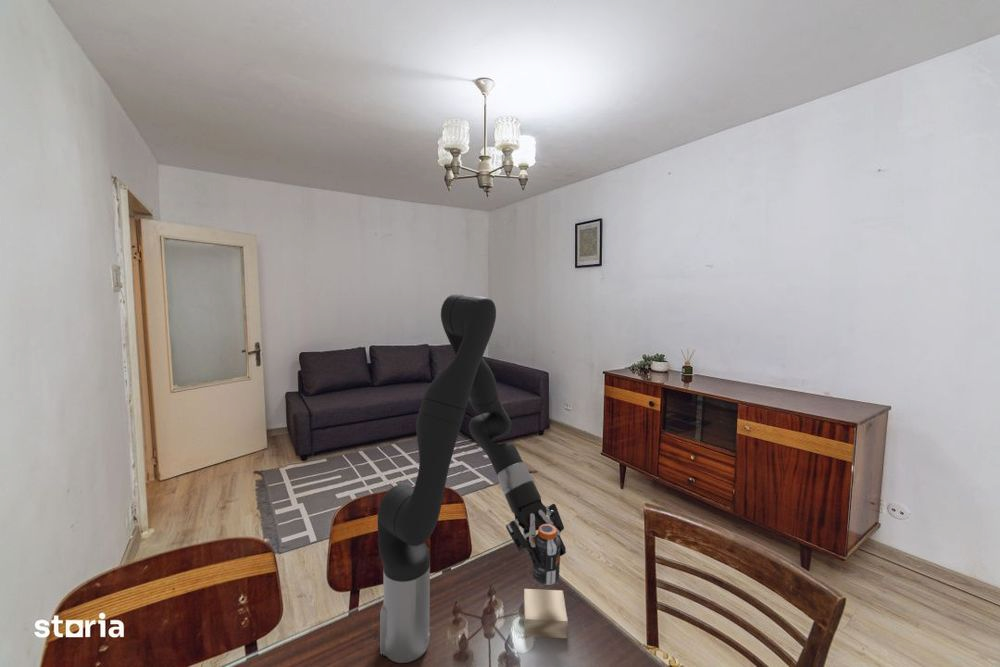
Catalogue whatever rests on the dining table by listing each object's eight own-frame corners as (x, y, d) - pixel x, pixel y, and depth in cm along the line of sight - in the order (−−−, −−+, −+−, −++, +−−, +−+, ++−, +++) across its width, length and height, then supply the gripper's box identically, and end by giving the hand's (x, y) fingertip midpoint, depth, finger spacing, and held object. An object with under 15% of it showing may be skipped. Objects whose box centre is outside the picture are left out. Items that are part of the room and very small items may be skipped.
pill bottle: (560, 586, 89) (562, 537, 88) (533, 585, 89) (534, 536, 88) (557, 567, 95) (559, 521, 94) (531, 566, 95) (533, 520, 94)
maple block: (524, 636, 89) (525, 618, 88) (523, 604, 98) (524, 588, 97) (566, 638, 88) (567, 621, 88) (562, 606, 97) (562, 590, 97)
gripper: (501, 489, 91) (536, 569, 83) (548, 472, 100) (584, 543, 92) (487, 502, 96) (518, 578, 88) (533, 484, 105) (565, 553, 97)
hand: (552, 560), depth 90 cm, fingers closed on pill bottle, 6 cm apart
